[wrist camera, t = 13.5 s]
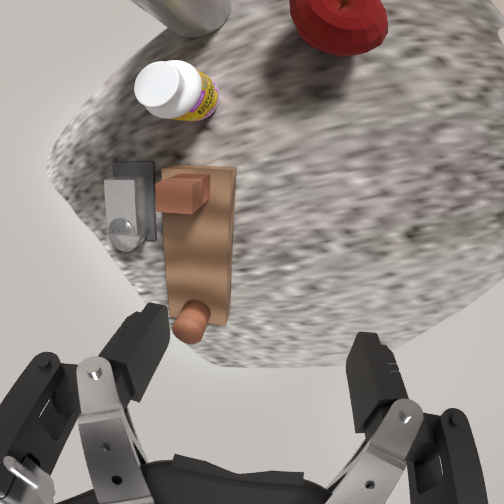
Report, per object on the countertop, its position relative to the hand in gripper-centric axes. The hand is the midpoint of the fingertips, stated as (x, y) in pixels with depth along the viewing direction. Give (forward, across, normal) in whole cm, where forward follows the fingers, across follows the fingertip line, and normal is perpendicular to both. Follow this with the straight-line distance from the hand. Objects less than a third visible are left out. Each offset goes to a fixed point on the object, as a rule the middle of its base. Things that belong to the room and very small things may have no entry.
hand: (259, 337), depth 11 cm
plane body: (+28, +10, +9) cm, 31 cm away
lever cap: (+27, +21, +4) cm, 35 cm away
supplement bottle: (+28, +12, -12) cm, 33 cm away
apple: (+28, -5, -24) cm, 37 cm away
